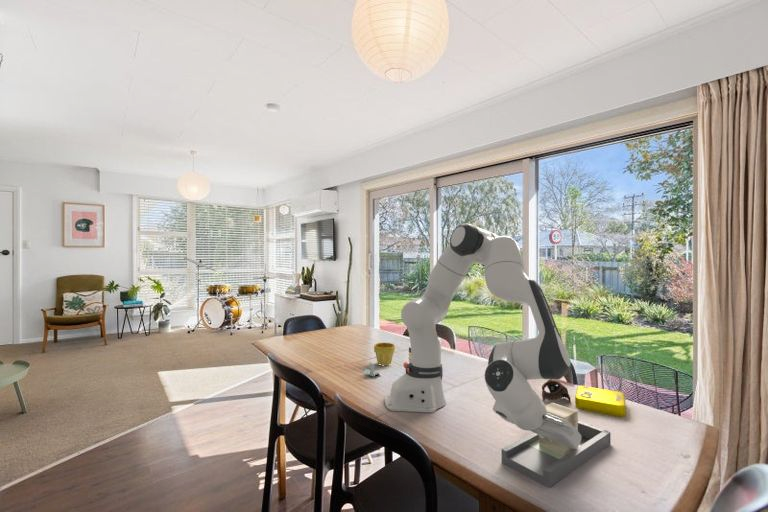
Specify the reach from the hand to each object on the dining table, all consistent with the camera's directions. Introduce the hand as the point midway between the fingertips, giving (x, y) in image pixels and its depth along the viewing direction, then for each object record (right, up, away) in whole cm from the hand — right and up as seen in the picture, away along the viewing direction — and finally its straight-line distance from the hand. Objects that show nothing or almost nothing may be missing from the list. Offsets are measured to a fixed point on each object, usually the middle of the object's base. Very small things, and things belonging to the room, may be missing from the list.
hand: (547, 437), depth 94 cm
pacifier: (-48, -7, +68) cm, 84 cm away
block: (+4, -4, +3) cm, 7 cm away
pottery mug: (+21, -6, +40) cm, 46 cm away
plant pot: (-43, -7, +85) cm, 96 cm away
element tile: (+35, -7, +34) cm, 49 cm away
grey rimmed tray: (+4, -6, +3) cm, 8 cm away
